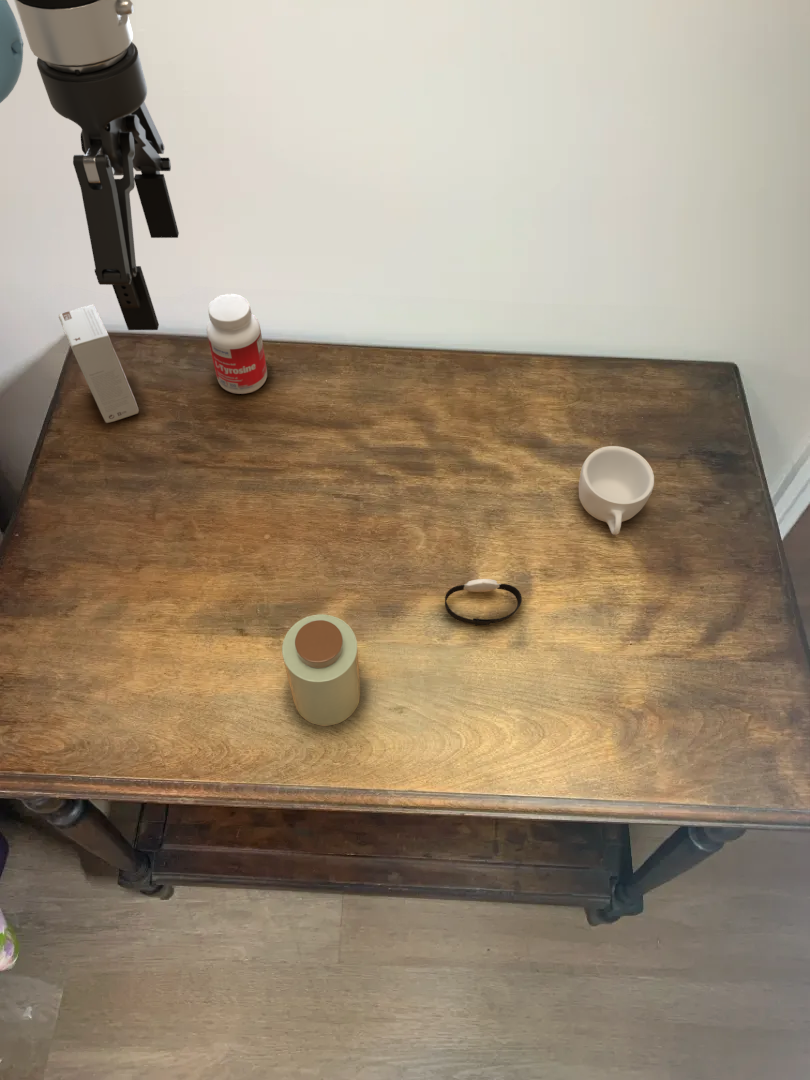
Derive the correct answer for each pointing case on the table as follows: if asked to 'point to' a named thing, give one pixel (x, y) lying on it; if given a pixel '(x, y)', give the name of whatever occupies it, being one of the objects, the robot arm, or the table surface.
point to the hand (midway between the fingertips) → (154, 279)
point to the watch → (483, 586)
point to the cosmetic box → (99, 363)
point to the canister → (322, 669)
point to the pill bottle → (236, 344)
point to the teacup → (615, 485)
